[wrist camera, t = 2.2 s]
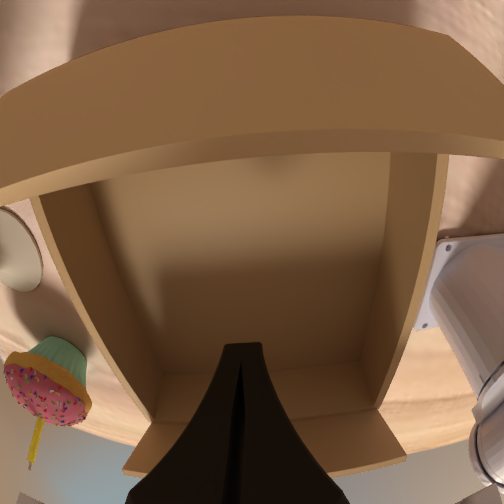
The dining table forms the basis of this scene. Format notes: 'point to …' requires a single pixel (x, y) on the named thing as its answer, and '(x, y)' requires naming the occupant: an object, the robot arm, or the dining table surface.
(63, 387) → the cupcake
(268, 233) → the carton
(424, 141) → the flap
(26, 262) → the wineglass
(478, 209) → the dining table surface
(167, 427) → the flap
